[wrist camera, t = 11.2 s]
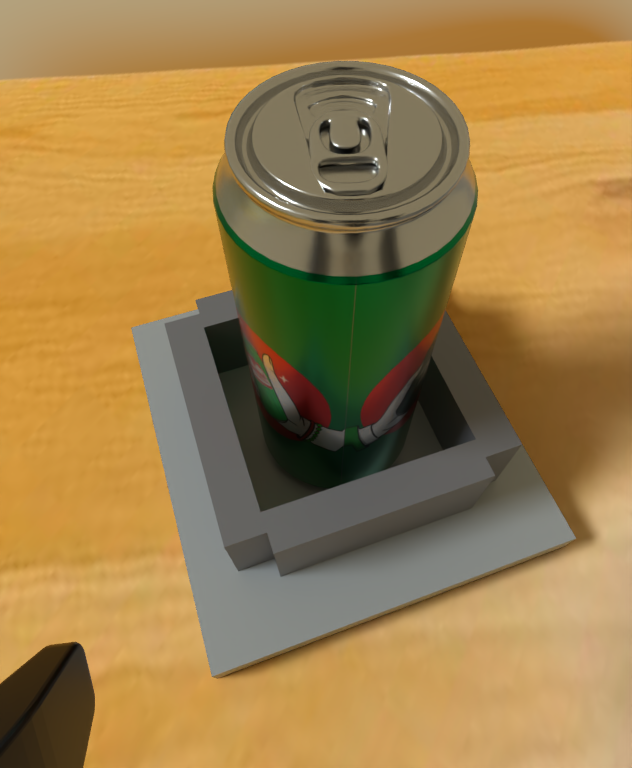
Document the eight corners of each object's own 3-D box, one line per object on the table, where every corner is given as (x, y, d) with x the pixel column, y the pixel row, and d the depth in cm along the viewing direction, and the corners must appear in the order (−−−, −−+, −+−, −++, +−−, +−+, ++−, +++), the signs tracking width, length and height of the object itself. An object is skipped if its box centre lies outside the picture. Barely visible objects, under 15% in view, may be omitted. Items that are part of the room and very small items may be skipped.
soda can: (396, 362, 22) (465, 42, 11) (415, 490, 19) (523, 230, 9) (262, 369, 22) (207, 52, 11) (264, 498, 19) (194, 245, 9)
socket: (564, 546, 19) (617, 509, 16) (217, 678, 18) (191, 669, 14) (408, 265, 25) (421, 195, 22) (138, 341, 24) (106, 277, 20)
